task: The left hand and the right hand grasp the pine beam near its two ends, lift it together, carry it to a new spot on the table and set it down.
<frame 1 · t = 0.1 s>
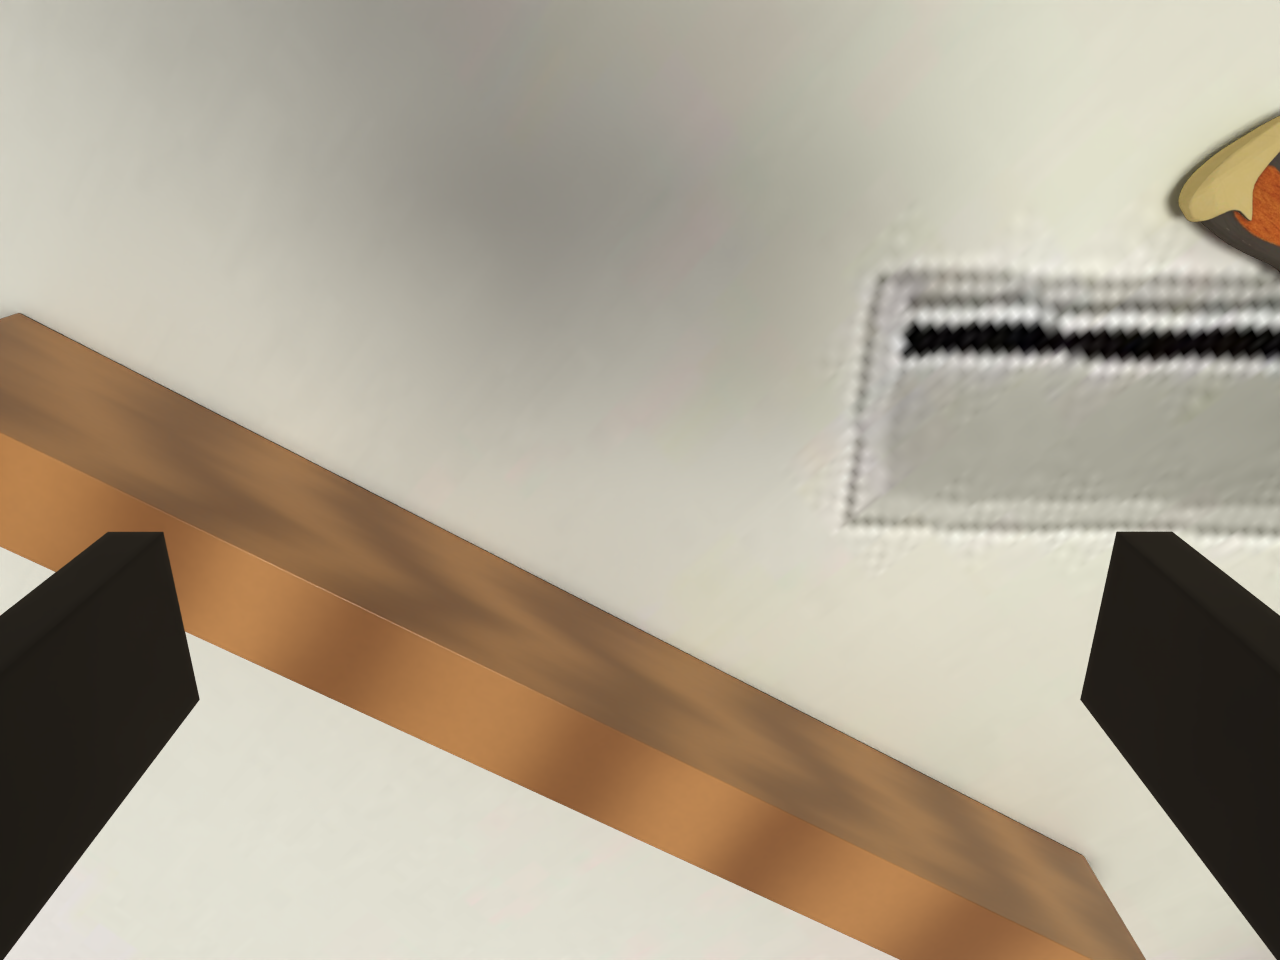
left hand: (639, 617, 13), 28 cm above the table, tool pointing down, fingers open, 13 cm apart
beam: (596, 651, 46), on the table
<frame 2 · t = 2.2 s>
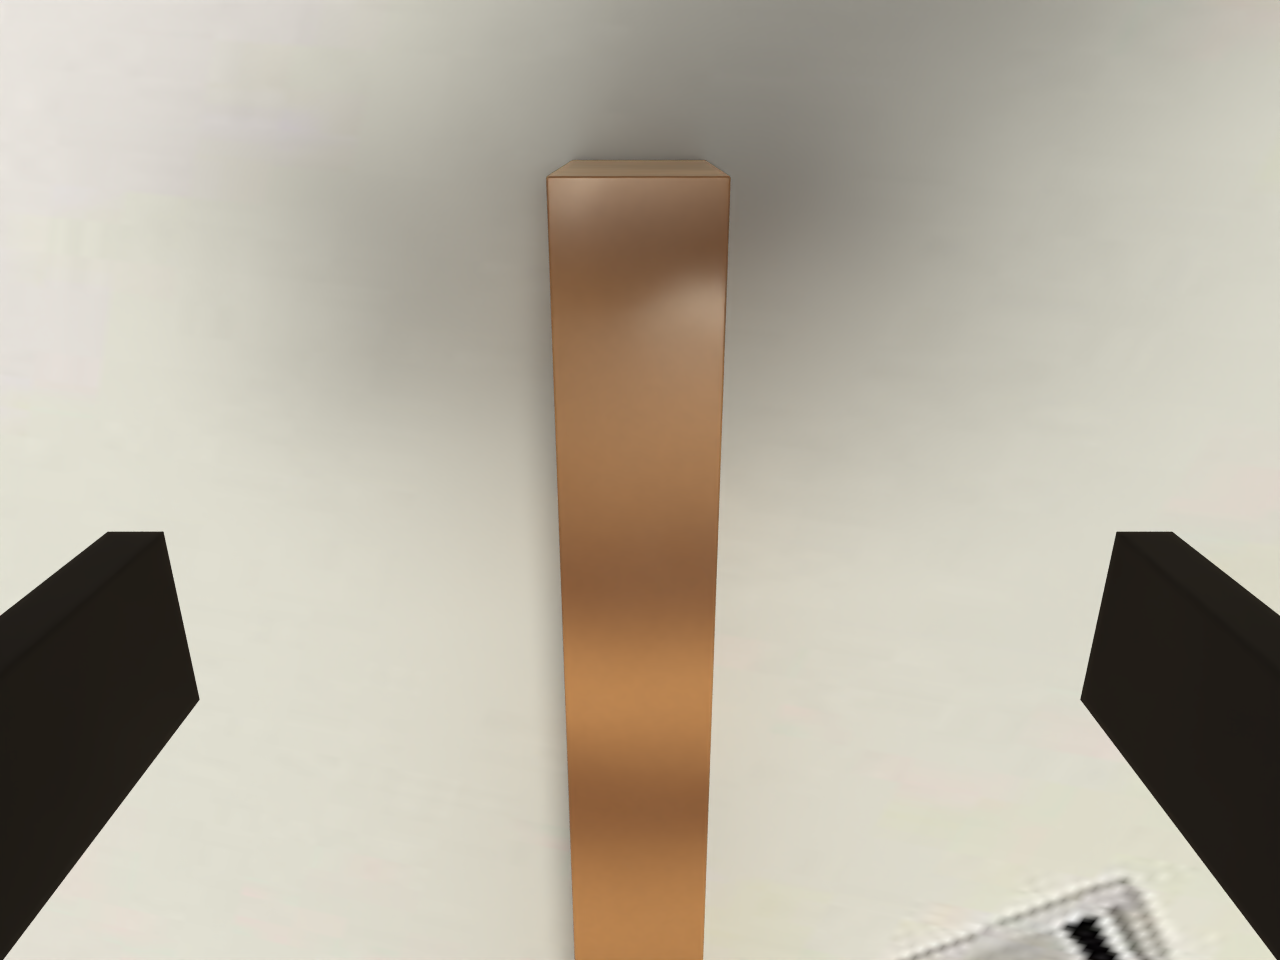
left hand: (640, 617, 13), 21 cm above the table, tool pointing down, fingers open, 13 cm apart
beam: (639, 858, 41), on the table
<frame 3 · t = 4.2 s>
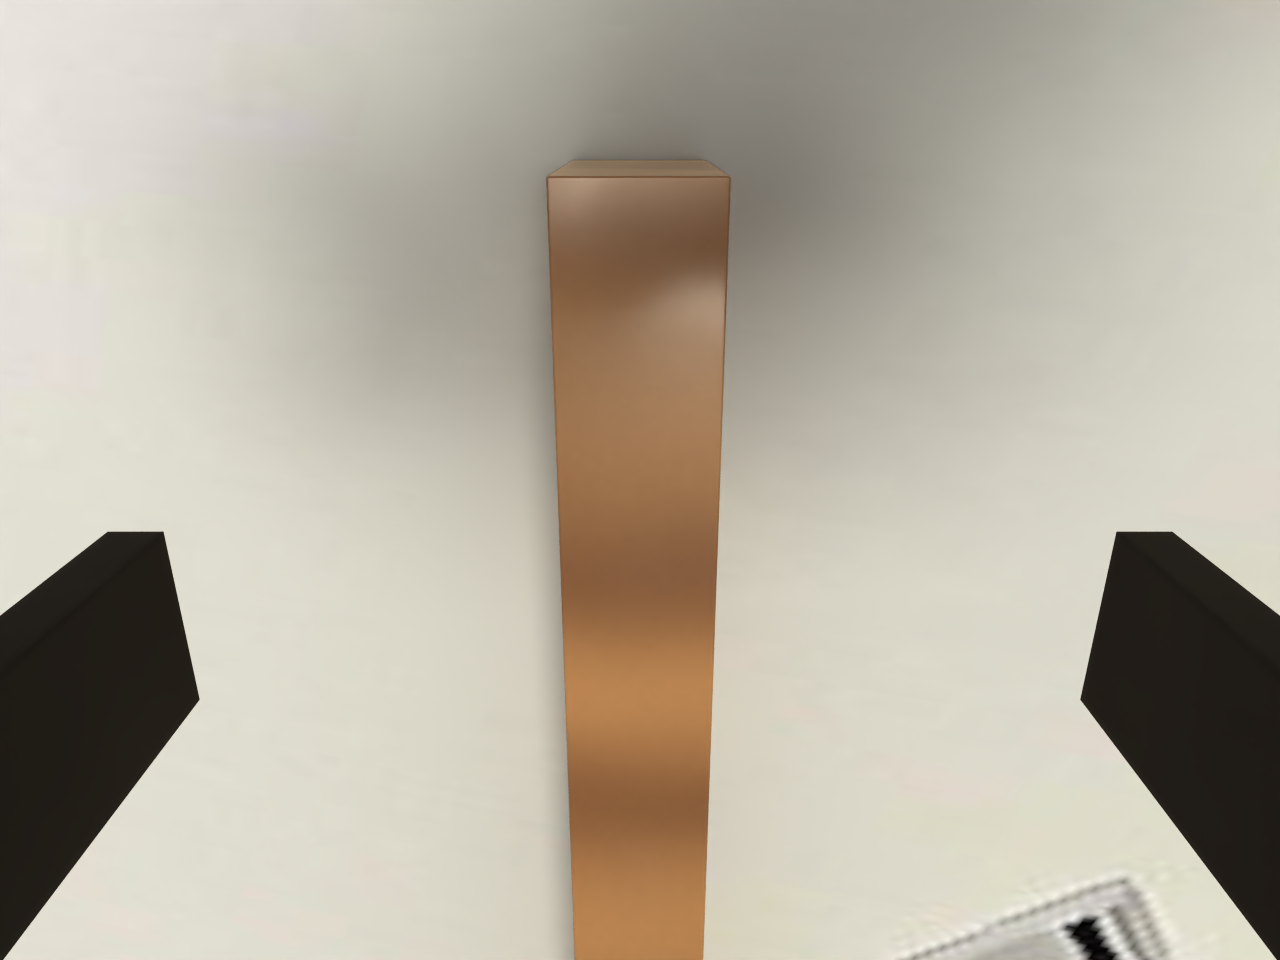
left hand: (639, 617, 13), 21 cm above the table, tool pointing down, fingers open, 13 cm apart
beam: (639, 858, 41), on the table, touching right hand
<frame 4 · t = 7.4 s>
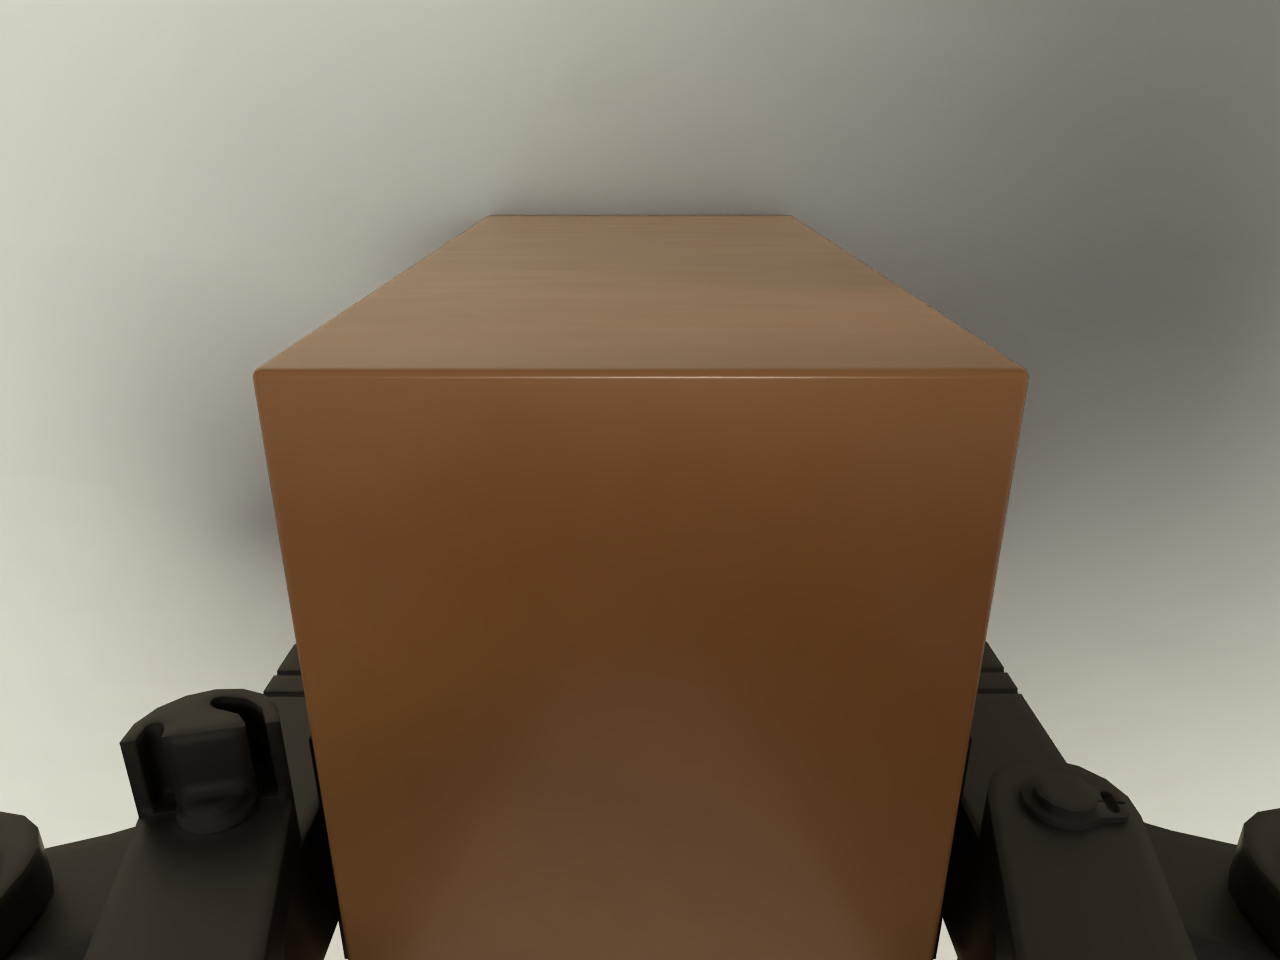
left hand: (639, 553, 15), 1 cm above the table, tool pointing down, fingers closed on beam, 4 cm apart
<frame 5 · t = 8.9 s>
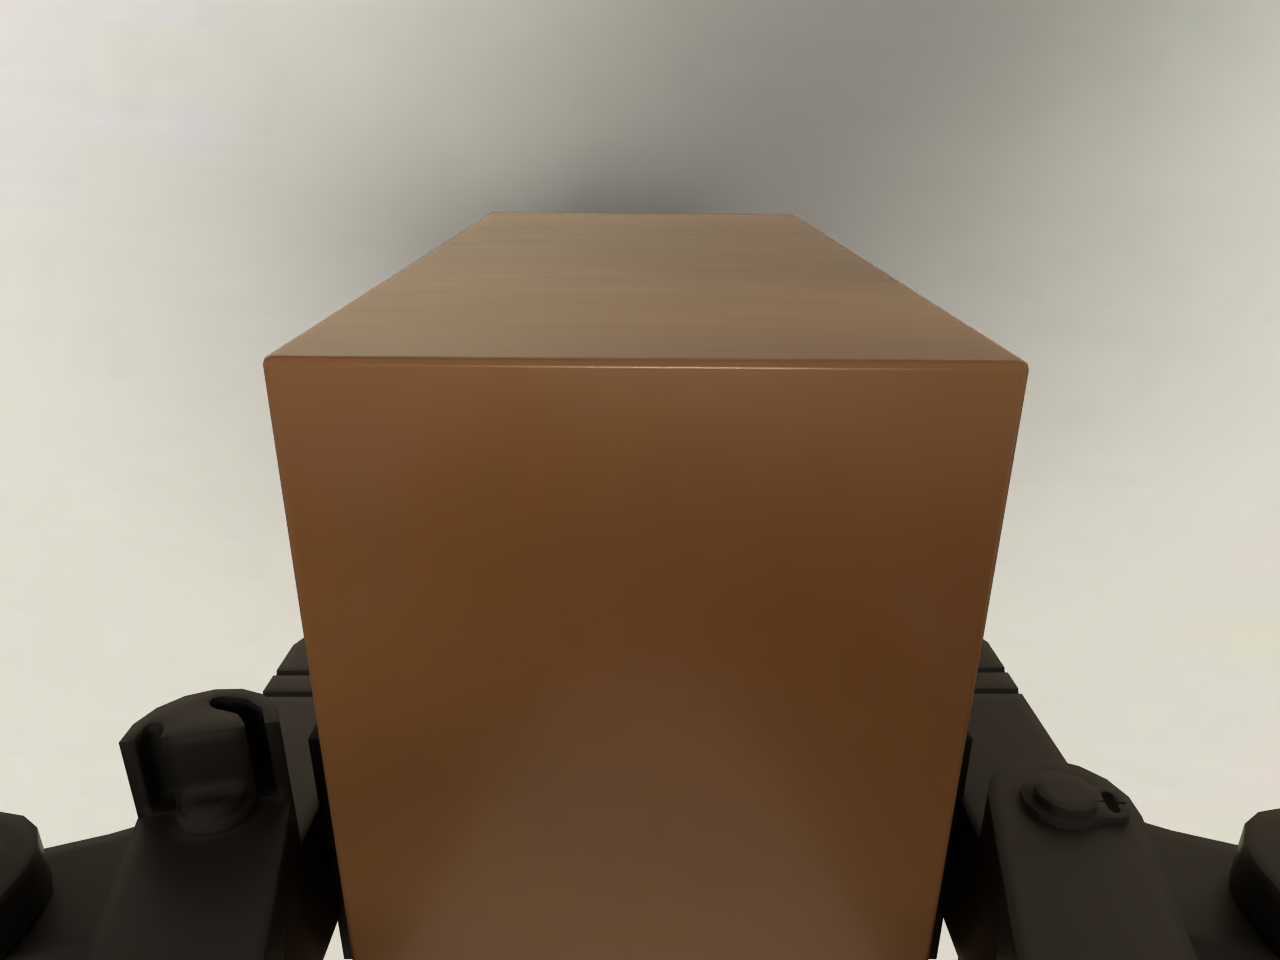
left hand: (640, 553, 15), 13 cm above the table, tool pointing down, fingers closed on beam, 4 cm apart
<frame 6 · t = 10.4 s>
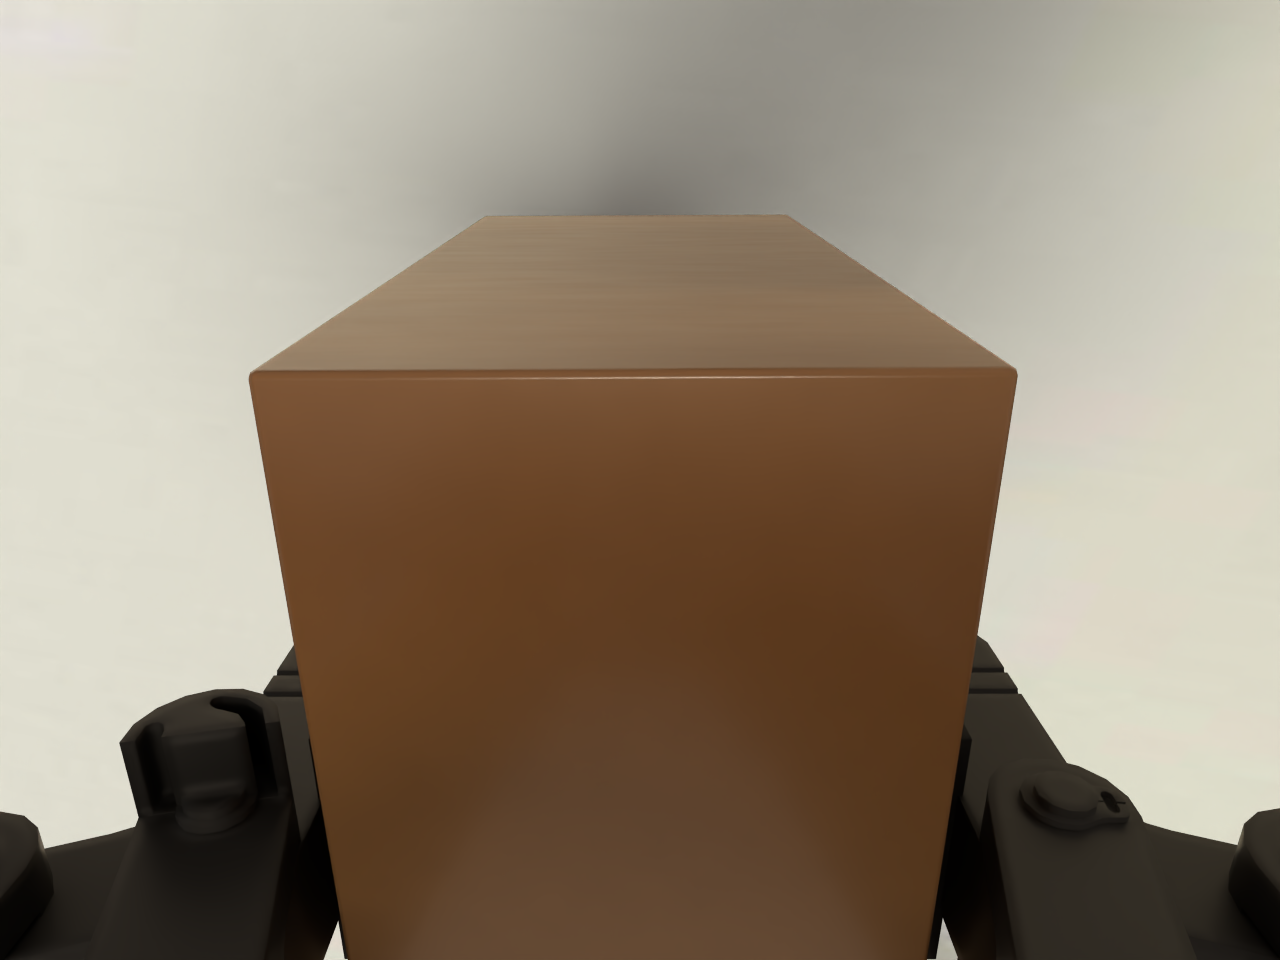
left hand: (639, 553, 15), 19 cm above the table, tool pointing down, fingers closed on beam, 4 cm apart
when the left hand's fingers open (2 cm above the table, at t = 13.8 s): beam drops 2 cm, on the table.
when the right hand's fingers open (5 cm above the table, at t = 13.9 s): beam stays where it is, on the table.
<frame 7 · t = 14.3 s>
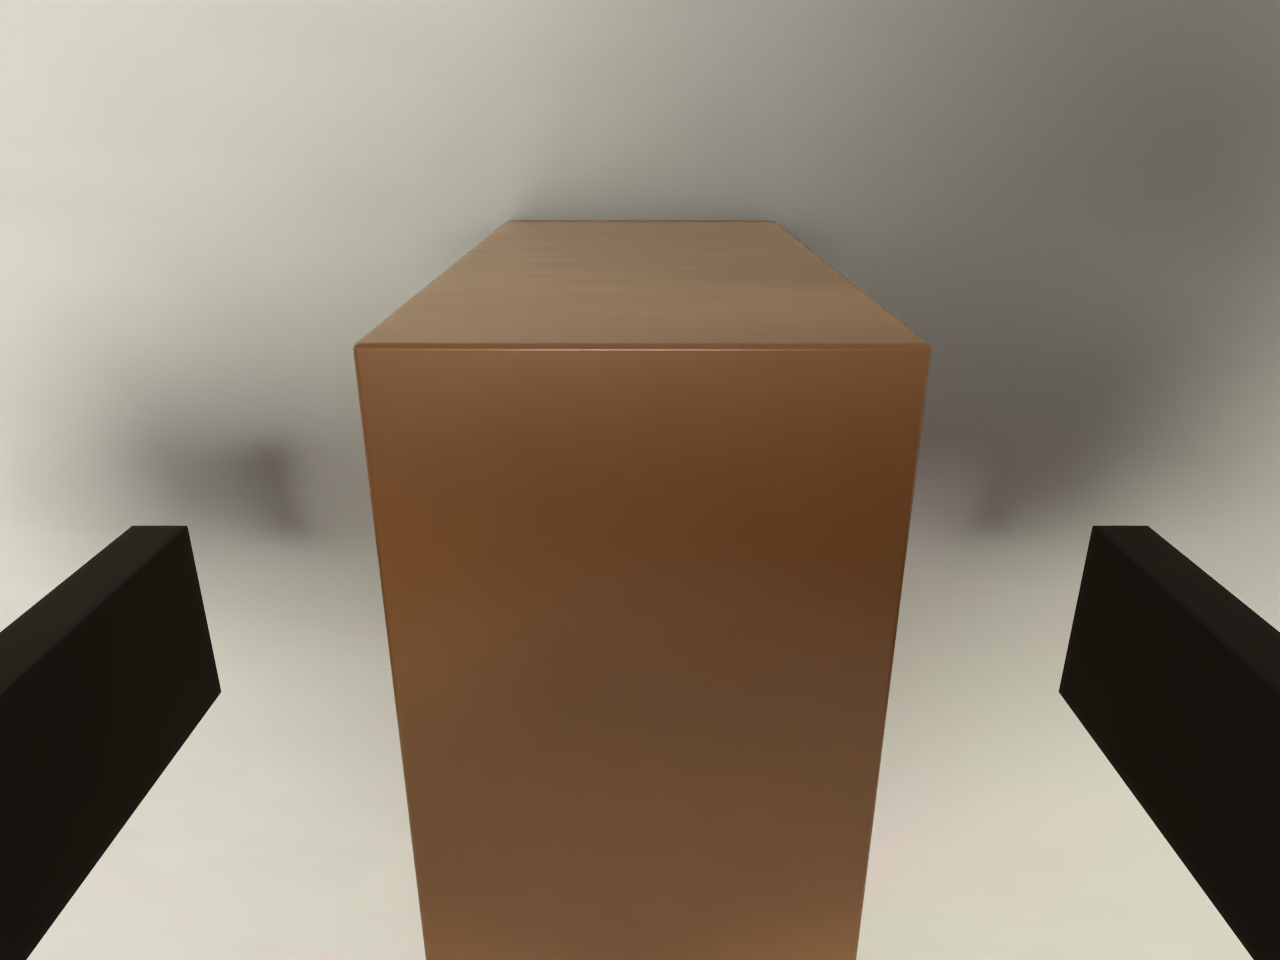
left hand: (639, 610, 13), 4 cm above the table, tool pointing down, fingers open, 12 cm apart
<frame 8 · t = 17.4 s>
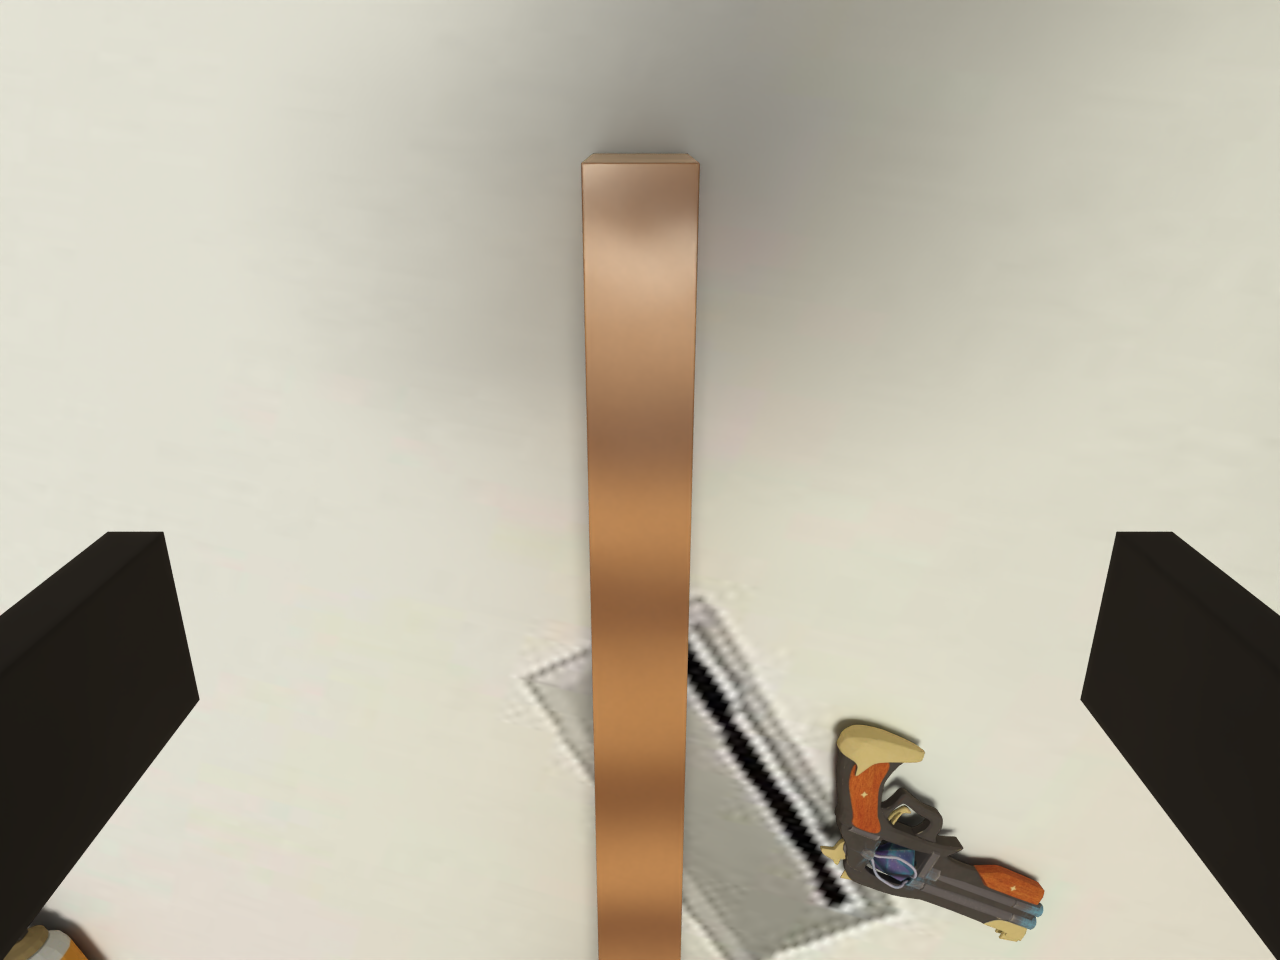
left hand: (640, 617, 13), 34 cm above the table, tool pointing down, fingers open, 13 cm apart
toy gun: (933, 823, 57), on the table
beam: (639, 692, 54), on the table
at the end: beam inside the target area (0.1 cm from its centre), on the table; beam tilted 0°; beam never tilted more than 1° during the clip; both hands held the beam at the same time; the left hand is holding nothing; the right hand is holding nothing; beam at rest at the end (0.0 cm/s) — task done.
